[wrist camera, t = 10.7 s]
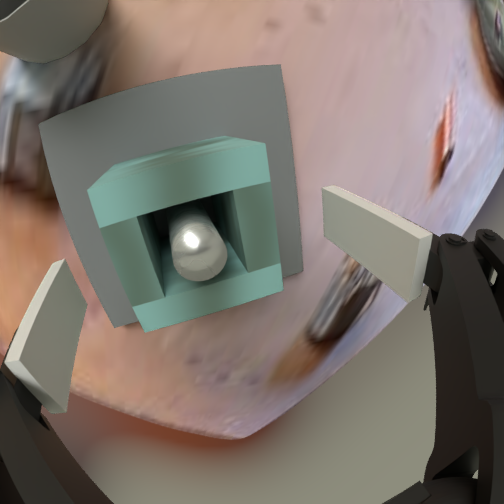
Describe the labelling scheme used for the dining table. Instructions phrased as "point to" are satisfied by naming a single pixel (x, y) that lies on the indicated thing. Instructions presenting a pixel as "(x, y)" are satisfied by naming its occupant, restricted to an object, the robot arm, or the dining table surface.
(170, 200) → the bead
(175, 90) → the board
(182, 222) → the rod
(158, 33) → the dining table surface
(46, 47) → the cup
